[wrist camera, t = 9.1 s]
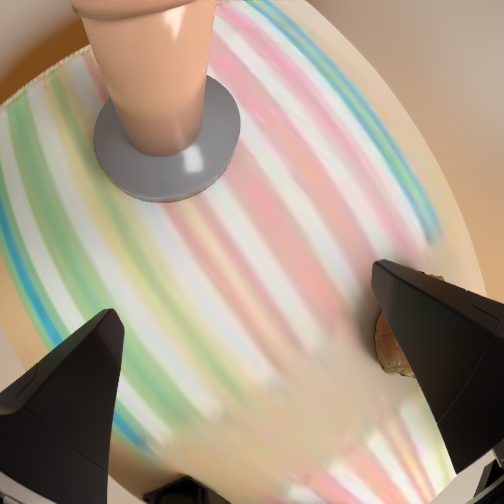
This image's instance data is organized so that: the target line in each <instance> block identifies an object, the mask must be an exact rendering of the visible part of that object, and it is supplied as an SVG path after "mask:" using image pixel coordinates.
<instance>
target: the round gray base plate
mask: <svg viewBox="0 0 504 504" xmlns="http://www.w3.org/2000/svg"><path fill="white" fill-rule="evenodd" d="M239 134H240V115H239V110H238V107H237V105H236V102H235V100H234V99H233V97H232V95H231V94H230V93H229V91H228V90H227V89H226V88H225V87H224V86H223V85H222V84H220V83H219V82H218V81H216V80H215V79H213V78H211V77H209V76H208V75H206V85H205V95H204V106H203V117H202V127H201V131H200V133H199V135H198V137H197V139H196V140H195V141H194V142H193V143H192V144H191V145H190V146H189V147H188V148H187V149H185V150H184V151H182V152H180V153H178V154H175V155H172V156H168V157H151V156H147V155H144V154H142V153H140V152H139V151H137V150H136V149H135V148H134V147H133V146H132V144H131V143H130V141H129V138H128V136H127V134H126V132H125V129H124V127H123V125H122V123H121V120H120V118H119V116H118V113H117V111H116V109H115V106H114V104H113V101H112V99H111V98H110V99H109V100H108V101H107V103H106V104H105V106H104V107H103V109H102V110H101V112H100V114H99V117H98V119H97V122H96V125H95V130H94V150H95V153H96V157H97V159H98V161H99V164H100V165H101V167H102V168H103V170H104V171H105V173H106V174H107V175H108V176H109V177H110V178H111V180H112V181H113V182H114V183H115V184H116V185H117V186H118V187H119V188H120V189H121V190H123V191H124V192H125V193H127V194H128V195H130V196H132V197H134V198H137V199H140V200H142V201H147V202H153V203H170V202H176V201H181V200H184V199H187V198H190V197H192V196H195V195H197V194H199V193H200V192H202V191H204V190H206V189H207V188H208V187H210V186H211V185H212V184H213V183H214V182H215V181H216V180H217V179H218V178H220V176H221V175H222V174H223V172H224V171H225V170H226V168H227V166H228V165H229V163H230V161H231V158H232V156H233V153H234V150H235V147H236V144H237V141H238V137H239Z"/></svg>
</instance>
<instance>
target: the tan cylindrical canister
mask: <svg viewBox="0 0 504 504" xmlns="http://www.w3.org/2000/svg"><path fill="white" fill-rule="evenodd" d="M70 1H71V4H72V7H73V10H74V12H75V13H76V14H77V15H79V16H81V17H82V21H83V24H84V27H85V30H86V33H87V36H88V38H89V41H90V44H91V47H92V50H93V53H94V55H95V58H96V61H97V64H98V66H99V69H100V71H101V74H102V77H103V79H104V82H105V84H106V87H107V89H108V92H109V94H110V97H111V99H112V101H113V104H114V106H115V109H116V111H117V113H118V116H119V118H120V120H121V123H122V125H123V127H124V129H125V132H126V134H127V136H128V138H129V141H130V143H131V144H132V146H133V147H134V148H135V149H136V150H137V151H139V152H140V153H142V154H144V155H147V156H151V157H168V156H172V155H175V154H178V153H180V152H182V151H184V150H185V149H187V148H188V147H189V146H190V145H191V144H192V143H193V142H194V141H195V140H196V139H197V137H198V135H199V133H200V131H201V127H202V117H203V106H204V95H205V85H206V75H207V66H208V58H209V50H210V42H211V35H212V28H213V21H214V15H215V9H216V2H217V0H70Z"/></svg>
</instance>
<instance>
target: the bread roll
mask: <svg viewBox="0 0 504 504" xmlns="http://www.w3.org/2000/svg"><path fill="white" fill-rule="evenodd" d="M419 272H421V271H419ZM421 273H424V272H421ZM424 274H425V273H424ZM429 276H432V277H435V278H437V279H440V280H442V281H444V279H443V277H442V276H438V277H437V276H434V275H432V274H431V275H429ZM375 342H376V351H377V356H378V360H379V361H380V362H381V363H382V365H383V366H384V369H383V370H384V371H386V373H387V374H389V375H394V374H395V373H397V374H398V373H400V375H402V376H408V377H413V378H416V377H415V375H414V373H413V371H412V369H411V367H410V365H409V363H408V361H407V359H406V357H405V355H404V353H403V351H402V349H401V347H400V346H399V344H398V342H397V340H396V338H395V336H394V334H393V333H392V331H391V329H390V327H389V325H388V323H387V321H386V319H385V317H384V314H383V312H381V314H380V315H379V318H378V320H377V325H376V334H375Z"/></svg>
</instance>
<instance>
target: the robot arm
mask: <svg viewBox="0 0 504 504" xmlns="http://www.w3.org/2000/svg"><path fill="white" fill-rule="evenodd" d="M371 285H372V289H373V291H374V293H375V296H376V298H377V300H378V302H379V305H380V307H381V309H382V312H383V314H384V317H385V319H386V321H387V323H388V325H389V327H390V329H391V331H392V333H393V334H394V336H395V338H396V340H397V342H398V344H399V346H400V347H401V349H402V351H403V353H404V355H405V357H406V359H407V361H408V363H409V365H410V367H411V369H412V371H413V373H414V375H415V377H416V379H417V381H418V383H419V385H420V387H421V389H422V392H423V394H424V396H425V398H426V400H427V402H428V405H429V407H430V409H431V411H432V414H433V416H434V418H435V421H436V423H437V426H438V428H439V431H440V433H441V436H442V438H443V441H444V443H445V446H446V448H447V451H448V454H449V456H450V459H451V462H452V465H453V467H454V470H455V472H456V474H458V473H460V472H461V471H463V470H464V469H466V468H468V467H469V466H470V465H472V464H473V463H475V462H476V461H477V460H479V459H480V458H482V457H483V456H484V455H486V454H487V453H488V452H490V451H491V450H492V451H493V453H494V455H495V457H496V459H494V460H493V461H492V462H490V463H489V464H488V465H487V466H485V467H484V470H483V473H482V476H481V479H480V482H479V484H478V487H477V489H476V492H475V494H474V497H473V499H471V500H470V501H468V502H467V503H466V504H504V304H503V303H500V302H497V301H494V300H491V299H489V298H486V297H483V296H481V295H478V294H476V293H473V292H471V291H468V290H467V291H466V290H465V289H463V288H460V287H458V286H455V285H453V284H450V283H448V282H445V281H442V280H440V279H437V278H435V277H432V276H429V275H427V274H424V273H421V272H419V271H416V270H413V269H410V268H408V267H405V266H402V265H399V264H397V263H394V262H391V261H388V260H385V259H382V260H378V261H375V262H374V263H373V266H372V280H371ZM124 334H125V330H124V326H123V324H122V322H121V320H120V318H119V316H118V314H117V313H116V311H115V310H114V309H112V308H110V309H104V310H102V311H101V312H99V313H98V314H97V315H95V316H94V317H93V318H92V319H90V320H89V321H88V322H87V323H85V324H84V325H83V326H81V327H80V328H79V329H78V330H76V331H75V332H74V333H73V334H71V335H70V336H69V337H68V338H67V339H65V340H64V341H63V342H62V343H60V344H59V345H58V346H57V347H56V348H54V349H53V350H52V351H51V352H50V353H48V354H47V355H46V356H45V357H44V358H42V359H41V360H40V361H39V363H36V364H35V365H34V366H33V367H32V368H31V369H29V370H28V371H27V372H26V373H25V374H23V376H21V377H20V378H19V379H17V380H16V381H15V382H13V383H12V384H11V385H10V386H8V387H7V388H6V389H4V390H3V391H2V392H1V393H0V504H107V482H108V472H107V471H108V462H109V450H110V439H111V430H112V422H113V414H114V407H115V400H116V394H117V388H118V382H119V376H120V371H121V363H122V352H123V342H124ZM143 500H144V501H145V502H146V503H148V504H231V503H230V502H228V501H227V500H225V499H224V498H223V497H221V496H220V495H218V494H216V493H215V492H213V491H212V490H210V489H209V488H206V487H204V486H203V485H201V484H200V483H198V482H197V481H196V480H194V479H193V478H191V477H188V476H186V477H183V478H181V479H179V480H177V481H175V482H173V483H171V484H168V485H166V486H164V487H162V488H159V489H157V490H155V491H152V492H150V493H148V494H145V495H143Z"/></svg>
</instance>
